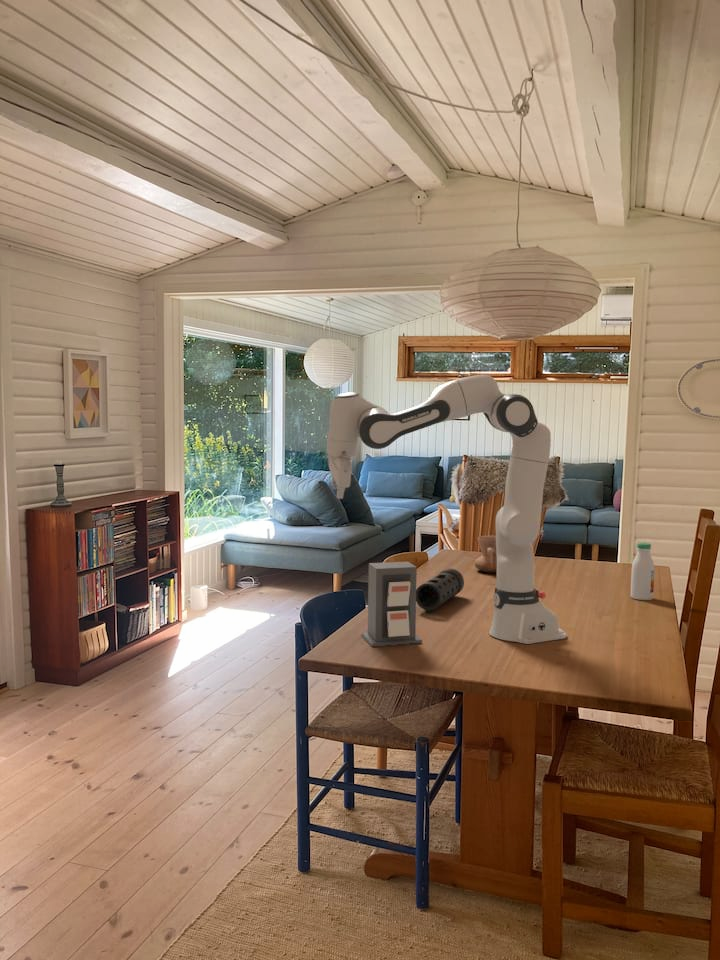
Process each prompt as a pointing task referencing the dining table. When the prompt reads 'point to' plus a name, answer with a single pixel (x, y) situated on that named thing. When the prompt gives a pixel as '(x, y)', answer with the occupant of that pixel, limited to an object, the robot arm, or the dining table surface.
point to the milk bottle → (642, 574)
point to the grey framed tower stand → (378, 602)
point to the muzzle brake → (439, 589)
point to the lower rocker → (398, 623)
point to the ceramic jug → (487, 554)
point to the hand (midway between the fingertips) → (337, 492)
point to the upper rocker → (398, 593)
